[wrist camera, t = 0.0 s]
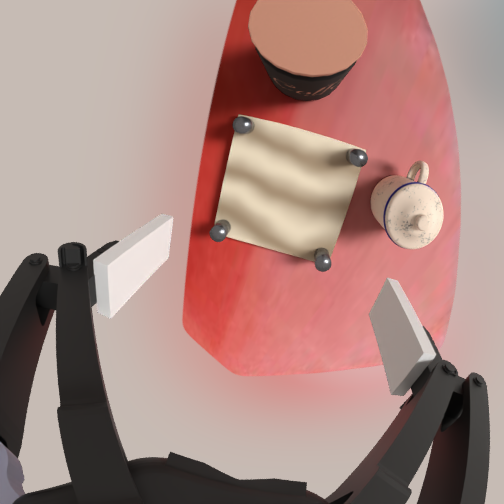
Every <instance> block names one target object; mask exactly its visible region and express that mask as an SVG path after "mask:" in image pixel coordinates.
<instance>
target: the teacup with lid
mask: <svg viewBox="0 0 504 504" xmlns="http://www.w3.org/2000/svg"><path fill="white" fill-rule="evenodd" d="M419 169H421V171H420V175H419V178H418V181H417V182H415V181H414V178H415V176H416V174H417V172H418V171H419ZM428 173H429V168H428V165H427V164H426V163H425V162H423V161H417V162H415V163H414V164H413V165H412V166H411V168H410V170H409V172H408V175H407V177H403V176H399V175H392V176H388V177H386V178H384V179H382V180H381V181H380V182H379V183H378V184H377V185H376V186H375V188H374V190H373V192H372V195H371V210H372V213H373V215H374V217H375V219H376V220H377V221H378V222H379V223H380V225H381V226H382V227H383V228H384V229H385V230H386V233H387V235H388V236H389V238H390V239H391V240H392V241H393V242H394V243H395V244H396V245H398V246H400V247H402V248H406V249H418V248H421V247H424V246H426V245H427V244H429V243H430V242H431V241H432V240H433V239H434V238H435V237H436V236H437V234H438V233H439V231H440V229H441V226H442V222H443V207H442V203H441V200H440V198H439V196H438V195H437V193H436V192H435V191H434V190H433V189H432V188H431V187H429V186H428V185H426V181H427V178H428Z"/></svg>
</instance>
